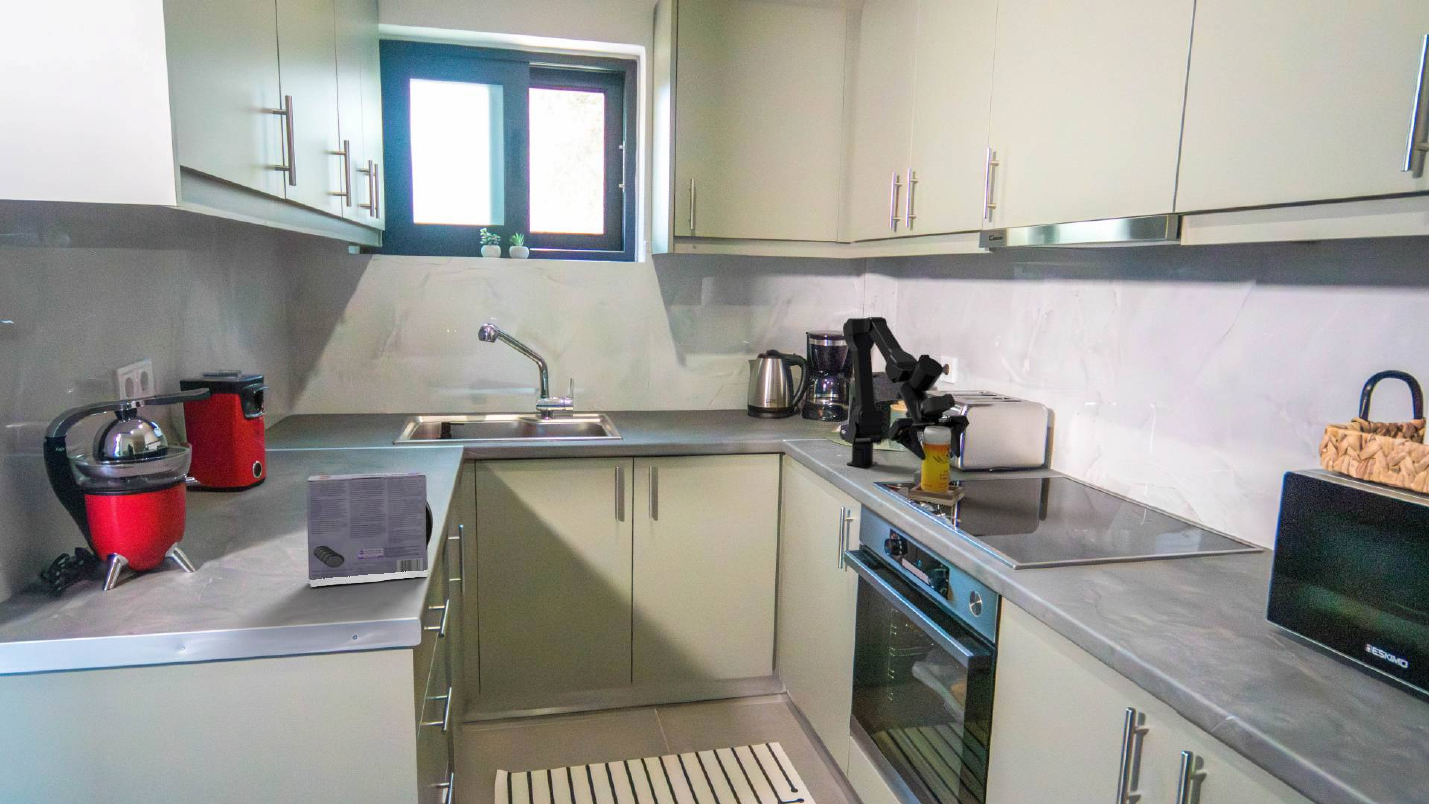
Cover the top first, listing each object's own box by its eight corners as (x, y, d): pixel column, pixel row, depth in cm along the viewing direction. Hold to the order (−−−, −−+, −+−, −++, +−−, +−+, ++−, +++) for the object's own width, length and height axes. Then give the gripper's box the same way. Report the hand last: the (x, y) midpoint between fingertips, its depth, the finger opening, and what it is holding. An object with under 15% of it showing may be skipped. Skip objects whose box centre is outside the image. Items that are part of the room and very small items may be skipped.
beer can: (944, 496, 195) (947, 431, 192) (917, 493, 198) (920, 428, 195) (950, 490, 200) (954, 427, 198) (924, 487, 203) (927, 424, 201)
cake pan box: (434, 568, 148) (430, 467, 146) (435, 577, 144) (431, 474, 141) (312, 579, 142) (305, 474, 140) (308, 590, 137) (301, 481, 135)
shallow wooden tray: (922, 490, 205) (922, 481, 205) (964, 496, 200) (964, 487, 200) (908, 499, 197) (908, 490, 196) (951, 505, 191) (952, 496, 191)
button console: (922, 479, 217) (923, 467, 216) (950, 482, 213) (951, 470, 212) (913, 484, 211) (914, 472, 210) (942, 488, 207) (942, 476, 207)
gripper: (896, 383, 195) (920, 440, 186) (967, 380, 201) (993, 435, 192) (877, 412, 204) (900, 468, 195) (946, 409, 210) (970, 463, 201)
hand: (941, 458), depth 195 cm, fingers open, 9 cm apart
